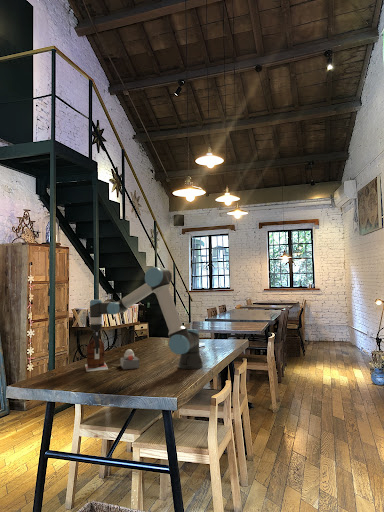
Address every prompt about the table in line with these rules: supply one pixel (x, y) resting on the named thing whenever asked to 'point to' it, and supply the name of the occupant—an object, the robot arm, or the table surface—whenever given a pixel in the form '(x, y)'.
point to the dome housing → (130, 362)
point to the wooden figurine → (91, 354)
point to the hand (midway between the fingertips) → (96, 357)
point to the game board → (97, 368)
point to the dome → (128, 354)
